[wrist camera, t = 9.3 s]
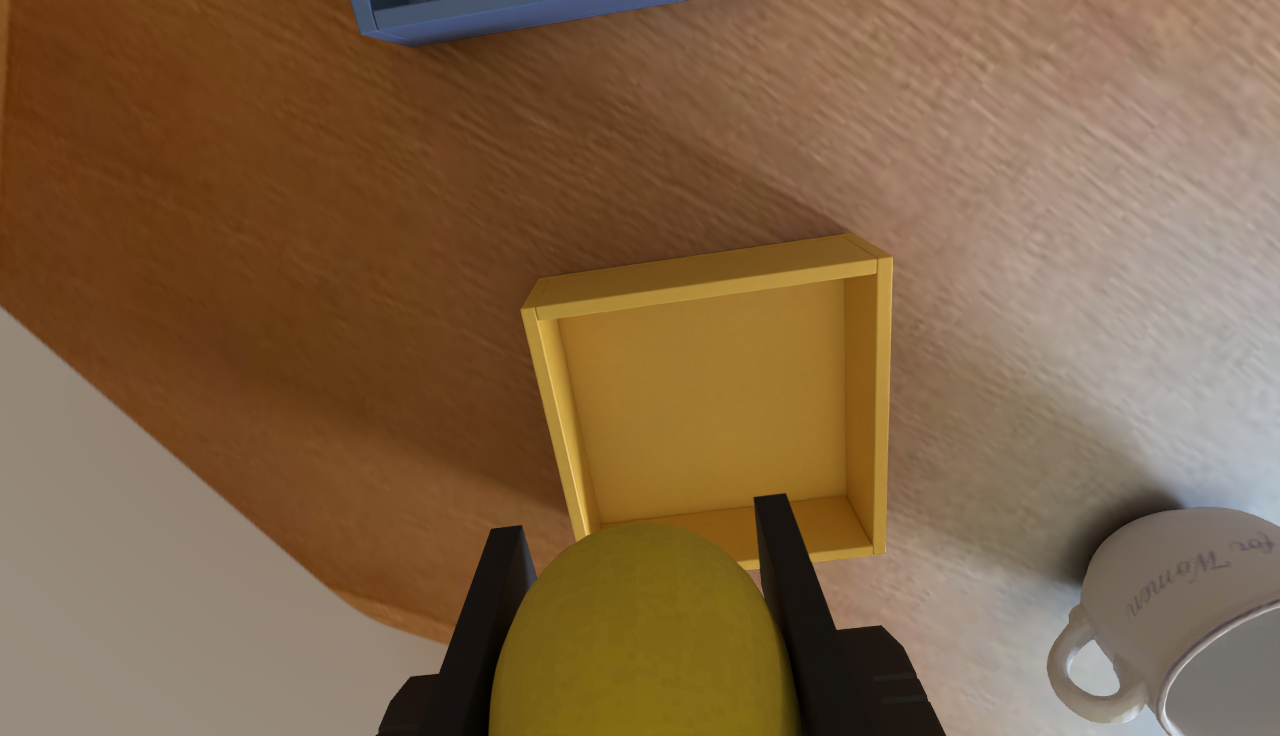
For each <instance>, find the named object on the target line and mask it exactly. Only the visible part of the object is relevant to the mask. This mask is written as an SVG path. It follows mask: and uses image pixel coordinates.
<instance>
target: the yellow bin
mask: <svg viewBox="0 0 1280 736" xmlns="http://www.w3.org/2000/svg"><path fill="white" fill-rule="evenodd" d="M892 269H893V257H892V256H891V255H889V254H888V253H886V252H884V251H883V250H881V249H879V248H878V247H876V246H874V245H872V244H871V243H869V242H867V241H866V240H864V239H862V238H861V237H859V236H857V235H856V234H854V233H846V234H839V235H833V236H826V237H819V238H812V239H805V240H798V241H791V242H784V243H777V244H770V245H763V246H757V247H750V248H743V249H736V250H729V251H722V252H715V253H708V254H701V255H694V256H688V257H681V258H674V259H667V260H660V261H653V262H646V263H639V264H632V265H625V266H618V267H612V268H605V269H598V270H591V271H584V272H577V273H570V274H563V275H556V276H549V277H543V278H539V279H538V281H537V282H536V284H535V285H534V287H533V289H532V290H531V292H530V294H529V295H528V297H527V299H526V300H525V302H524V304H523V305H522V307H521V309H520V311H521V316H522V320H523V324H524V328H525V332H526V337H527V341H528V345H529V349H530V353H531V357H532V362H533V366H534V370H535V374H536V378H537V383H538V387H539V391H540V395H541V399H542V403H543V408H544V412H545V416H546V420H547V424H548V428H549V433H550V437H551V441H552V445H553V449H554V454H555V458H556V462H557V466H558V470H559V474H560V479H561V483H562V487H563V491H564V495H565V500H566V504H567V508H568V512H569V516H570V520H571V525H572V529H573V533H574V537H575V541H576V542H578V541H579V540H581V539H582V538H584V537H585V536H587V535H589V534H592V533H595V532H597V531H600V530H603V529H606V528H608V527H611V526H614V525H619V524H626V523H633V522H654V523H665V524H668V525H672V526H676V527H679V528H683V529H686V530H689V531H692V532H694V533H696V534H698V535H700V536H702V537H704V538H705V539H707V540H709V541H711V542H713V543H715V544H716V545H717V546H719V547H720V548H722V549H723V550H724V551H725V552H726V553H727V554H728V555H729V556H730V557H732V558H733V559H734V560H735V561H736V562H737V563H738V564H739V565H740V566H741V567H742V568H743V569H744V570H750V569H759V568H760V563H759V553H758V542H757V531H756V520H755V509H754V498H753V497H757V496H765V495H774V494H782V493H786V495H787V497H788V500H789V503H790V505H791V508H792V511H793V514H794V516H795V519H796V522H797V524H798V527H799V530H800V533H801V535H802V538H803V541H804V543H805V546H806V549H807V552H808V554H809V557H810V560H811V562H821V561H830V560H839V559H848V558H857V557H866V556H872V555H883V554H886V516H887V475H888V434H889V393H890V352H891V310H892Z"/></svg>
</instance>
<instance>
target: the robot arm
mask: <svg viewBox="0 0 1280 736" xmlns="http://www.w3.org/2000/svg"><path fill="white" fill-rule="evenodd" d="M753 498H754V509H755V520H756V531H757V542H758V553H759V563H760V574H761V585H762V590H763V594H764V598H765V601H766V603H767V605H768V606H769V608H770V610H771V612H772V614H773V615H774V617H775V619H776V621H777V623H778V626H779V628H780V631H781V633H782V636H783V638H784V641H785V644H786V648H787V651H788V654H789V658H790V663H791V668H792V672H793V677H794V682H795V687H796V692H797V697H798V702H799V710H800V717H801V728H802V736H946V734H945V732H944V730H943V728H942V726H941V724H940V722H939V720H938V718H937V716H936V714H935V712H934V709H933V707H932V705H931V703H930V702H929V701H928V699H927V695H926V693H925V691H924V689H923V687H922V685H921V682H920V680H919V679H917V675H916V672H915V670H914V668H913V666H912V664H911V662H910V660H909V658H908V655H907V653H906V651H905V649H904V647H903V646H902V645H901V644H900V643H899V642H898V641H897V640H896V639H895V638H894V637H893V636H892V635H891V634H890V633H889V632H888V631H887V630H886V629H885V628H883V627H882V626H881V625H880V626H870V627H861V628H851V629H842V630H836V627H835V625H834V622H833V619H832V617H831V614H830V611H829V608H828V606H827V603H826V600H825V598H824V595H823V592H822V589H821V587H820V584H819V581H818V579H817V576H816V573H815V571H814V568H813V565H812V562H811V560H810V557H809V554H808V552H807V549H806V546H805V543H804V541H803V538H802V535H801V533H800V530H799V527H798V524H797V522H796V519H795V516H794V514H793V511H792V508H791V505H790V503H789V500H788V497H787V495H786V493H782V494H774V495H765V496H757V497H753ZM536 579H537V576H536V573H535V569H534V566H533V562H532V559H531V555H530V552H529V548H528V545H527V541H526V538H525V534H524V531H523V527H522V525H519V526H511V527H502V528H494V529H491V531H490V534H489V536H488V539H487V542H486V545H485V547H484V550H483V553H482V556H481V559H480V561H479V564H478V567H477V570H476V572H475V575H474V578H473V581H472V584H471V586H470V589H469V592H468V595H467V597H466V600H465V603H464V606H463V608H462V611H461V614H460V617H459V620H458V622H457V625H456V628H455V631H454V633H453V636H452V639H451V642H450V644H449V647H448V650H447V653H446V656H445V658H444V661H443V664H442V667H441V669H440V672H439V674H432V675H422V676H413V677H410V678H409V679H408V680H407V682H406V683H405V684H404V685H403V686H402V688H401V689H400V690H399V691H398V693H397V694H396V695H395V696H394V698H393V699H392V700H391V701H390V703H389V706H388V708H387V710H386V713H385V715H384V717H383V720H382V722H381V724H380V727H379V733H378V735H376V736H488V734H489V716H490V702H491V694H492V686H493V681H494V676H495V671H496V666H497V663H498V659H499V656H500V652H501V649H502V647H503V644H504V641H505V639H506V636H507V634H508V631H509V629H510V627H511V625H512V622H513V620H514V618H515V615H516V613H517V611H518V609H519V607H520V605H521V603H522V601H523V599H524V597H525V595H526V593H527V592H528V590H529V589H530V587H531V586H532V584H533V583H534V582H535V581H536Z"/></svg>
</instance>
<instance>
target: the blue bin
mask: <svg viewBox="0 0 1280 736" xmlns="http://www.w3.org/2000/svg"><path fill="white" fill-rule="evenodd" d="M350 1H351V4H352V8H353V11H354V14H355V18H356V21H357V25H358V28H359V31H360V34H361V35H365V36H369V37H373V38H377V39H381V40H384V41H388V42H392V43H396V44H400V45H404V46H408V47H417V46H423V45H429V44H435V43H441V42H446V41H452V40H458V39H464V38H470V37H476V36H482V35H487V34H493V33H499V32H505V31H511V30H517V29H522V28H528V27H534V26H540V25H546V24H552V23H558V22H563V21H569V20H575V19H581V18H587V17H593V16H598V15H604V14H610V13H616V12H622V11H628V10H634V9H639V8H645V7H651V6H657V5H663V4H669V3H674V2H680V1H686V0H350Z"/></svg>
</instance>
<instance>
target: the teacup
mask: <svg viewBox="0 0 1280 736" xmlns="http://www.w3.org/2000/svg"><path fill="white" fill-rule="evenodd" d="M1093 639H1094V640H1095V641H1096V643H1097V644H1098V645H1099V647H1100V648H1101V650H1102V651H1103V652H1104V654H1105V655H1106V656H1107V657H1108V659H1109V660H1110V661H1111V662H1112V664H1113V669H1114V671H1115V673H1116V675H1117V677H1118V679H1119V683H1120V688H1119V690H1118V692H1117V693H1115V694H1113V695H1110V696H1094V695H1091V694H1089V693H1087V692H1085V691H1083V690H1081V689H1080V688H1079V687H1077V686H1076V685H1075V684H1074V683H1073V682H1072V681H1071V679H1070V675H1069V668H1070V665H1071V662H1072V660H1073V658H1074V656H1075V655H1076V654H1077V652H1078V651H1079V650H1080V649H1081V648H1082V647H1083V646H1084V645H1085V644H1087V643H1088V642H1089V641H1090V640H1093ZM1047 672H1048V677H1049V680H1050V683H1051V686H1052V688H1053V690H1054V691H1055V693H1056V695H1057V696H1058V698H1059V699H1060V700H1061V701H1062V702H1063V703H1064V704H1065V705H1066V706H1067V707H1068V708H1069V709H1071V710H1072V711H1073V712H1075V713H1076V714H1078V715H1079V716H1081V717H1083V718H1085V719H1087V720H1089V721H1092V722H1096V723H1100V724H1105V725H1116V724H1122V723H1125V722H1127V721H1130V720H1132V719H1133V718H1134V717H1136V716H1137V715H1138V714H1139V713H1140V711H1141V710H1142V709H1143V707H1144V705H1145V703H1146V705H1147V706H1148V707H1149V708H1150V709H1151V711H1152V712H1153V713H1154V714H1155V715H1156V718H1157V720H1158V722H1159V723H1160V725H1161V726H1162V728H1163V729H1164V730H1165V731H1166V733H1167V734H1168V735H1169V736H1280V527H1279V526H1277V525H1275V524H1273V523H1271V522H1269V521H1266V520H1264V519H1262V518H1259V517H1257V516H1254V515H1251V514H1248V513H1245V512H1242V511H1238V510H1233V509H1226V508H1218V507H1198V508H1189V509H1182V510H1171V511H1163V512H1159V513H1154V514H1151V515H1147V516H1144V517H1142V518H1139V519H1137V520H1134V521H1132V522H1130V523H1128V524H1126V525H1125V526H1123V527H1121V528H1120V529H1118V530H1117V531H1115V532H1114V533H1113V534H1112V535H1110V536H1109V537H1108V538H1107V539H1106V540H1105V541H1104V542H1103V543H1102V544H1101V545H1100V546H1099V548H1098V549H1097V551H1096V552H1095V554H1094V555H1093V557H1092V559H1091V561H1090V563H1089V566H1088V569H1087V574H1086V576H1085V578H1084V581H1083V585H1082V590H1081V603H1080V604H1079V605H1077V606H1075V607H1073V608H1072V610H1071V611H1070V613H1069V624H1068V625H1067V626H1066V628H1065V629H1064V630H1063V631H1062V633H1061V634H1060V635H1059V636H1058V638H1057V639H1056V641H1055V642H1054V644H1053V646H1052V648H1051V650H1050V652H1049V655H1048V661H1047Z"/></svg>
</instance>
